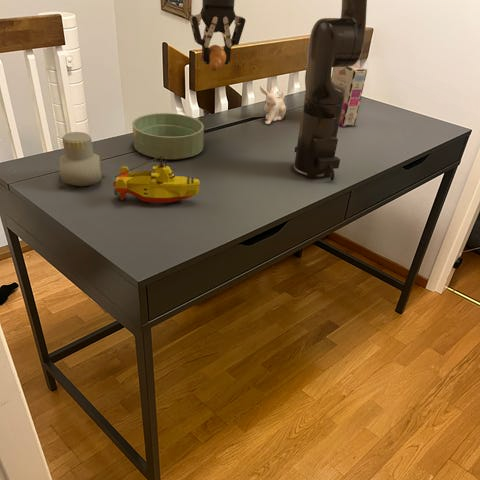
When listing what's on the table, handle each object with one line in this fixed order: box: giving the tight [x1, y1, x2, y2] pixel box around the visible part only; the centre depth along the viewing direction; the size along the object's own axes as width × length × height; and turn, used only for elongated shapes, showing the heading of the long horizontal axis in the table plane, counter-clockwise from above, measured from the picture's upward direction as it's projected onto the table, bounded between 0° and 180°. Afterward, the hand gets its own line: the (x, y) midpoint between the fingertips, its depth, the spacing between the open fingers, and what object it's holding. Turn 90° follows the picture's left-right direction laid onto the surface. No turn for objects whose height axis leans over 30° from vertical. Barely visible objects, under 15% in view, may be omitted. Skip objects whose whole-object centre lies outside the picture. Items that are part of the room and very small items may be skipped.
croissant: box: [198, 44, 226, 71], centre depth 118 cm, size 5×11×4 cm, turn 20°
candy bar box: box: [331, 64, 368, 128], centre depth 148 cm, size 11×5×16 cm, turn 25°
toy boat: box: [112, 155, 201, 204], centre depth 99 cm, size 6×18×10 cm, turn 93°
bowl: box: [131, 112, 205, 160], centre depth 123 cm, size 18×18×6 cm
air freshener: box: [59, 131, 103, 187], centre depth 103 cm, size 11×8×10 cm
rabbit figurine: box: [259, 83, 287, 125], centre depth 147 cm, size 12×8×10 cm, turn 138°
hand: (216, 63), depth 119 cm, fingers closed on croissant, 4 cm apart
